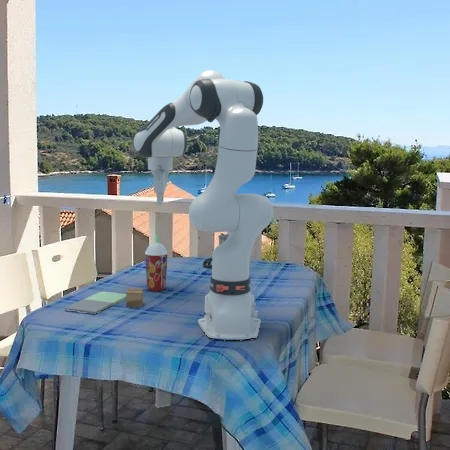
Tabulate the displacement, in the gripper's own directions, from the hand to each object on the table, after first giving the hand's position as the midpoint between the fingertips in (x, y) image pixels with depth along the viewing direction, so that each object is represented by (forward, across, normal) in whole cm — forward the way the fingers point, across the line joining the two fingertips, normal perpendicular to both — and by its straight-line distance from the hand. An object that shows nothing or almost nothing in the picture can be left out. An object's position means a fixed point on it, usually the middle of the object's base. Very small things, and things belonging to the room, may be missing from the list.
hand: (160, 203), depth 209 cm
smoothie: (+32, -3, +1) cm, 32 cm away
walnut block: (+31, -23, +7) cm, 40 cm away
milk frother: (+32, +31, -24) cm, 51 cm away
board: (+31, -22, +19) cm, 43 cm away
